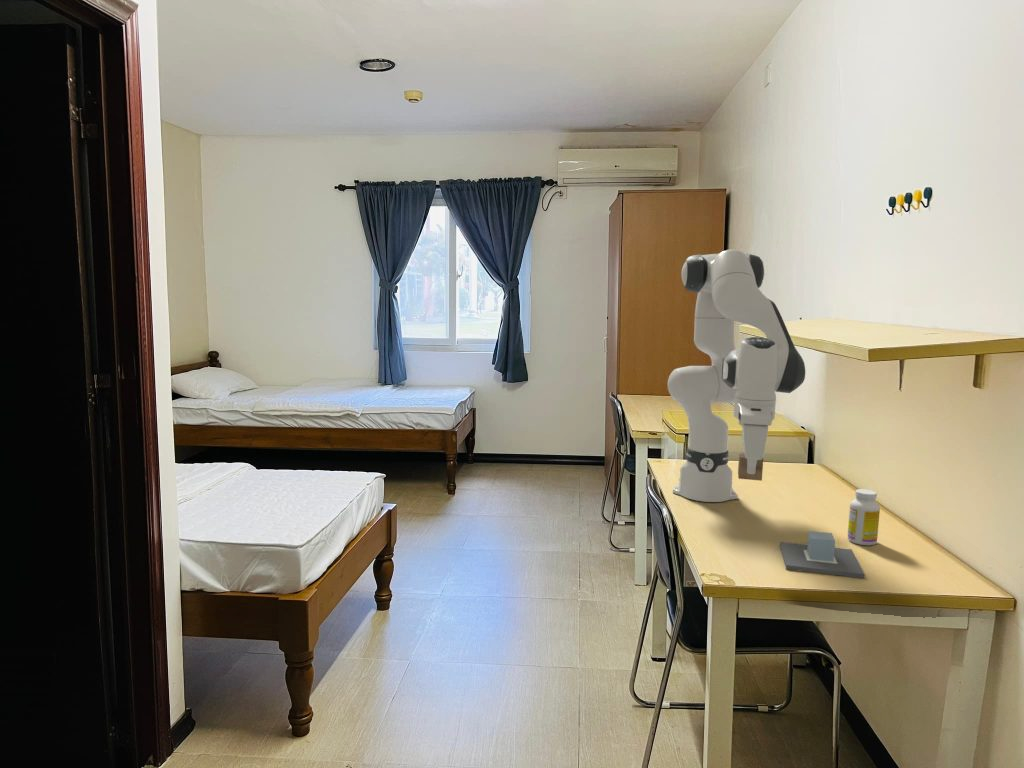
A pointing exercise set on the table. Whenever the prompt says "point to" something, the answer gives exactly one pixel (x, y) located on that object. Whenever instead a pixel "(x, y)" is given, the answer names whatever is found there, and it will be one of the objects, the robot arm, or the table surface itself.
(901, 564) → the table surface
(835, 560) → the dark grey flat slab
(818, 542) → the blue block
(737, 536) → the table surface
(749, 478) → the walnut block
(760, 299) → the robot arm
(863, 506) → the supplement bottle
